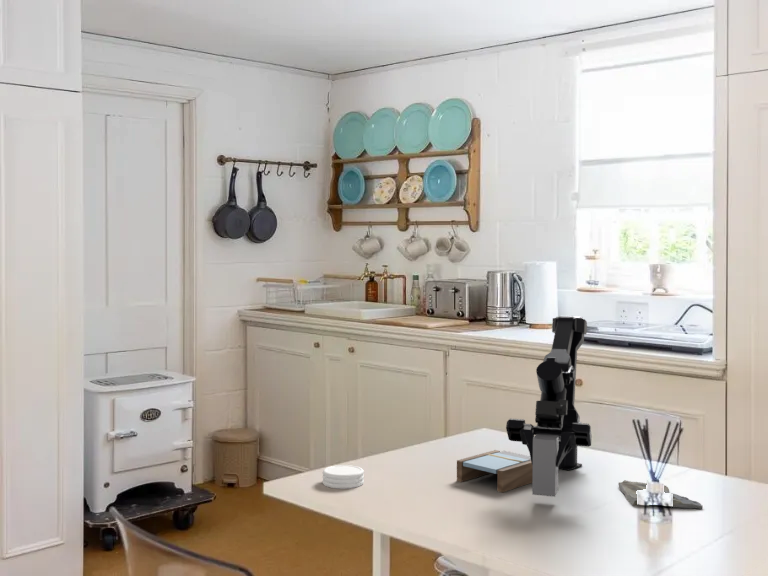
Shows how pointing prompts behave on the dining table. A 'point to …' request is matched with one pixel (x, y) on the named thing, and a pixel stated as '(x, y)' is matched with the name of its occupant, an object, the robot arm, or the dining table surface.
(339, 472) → the coaster
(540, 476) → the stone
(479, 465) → the trapdoor
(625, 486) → the fossil rock
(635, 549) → the dining table surface
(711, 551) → the dining table surface
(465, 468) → the hatch frame
